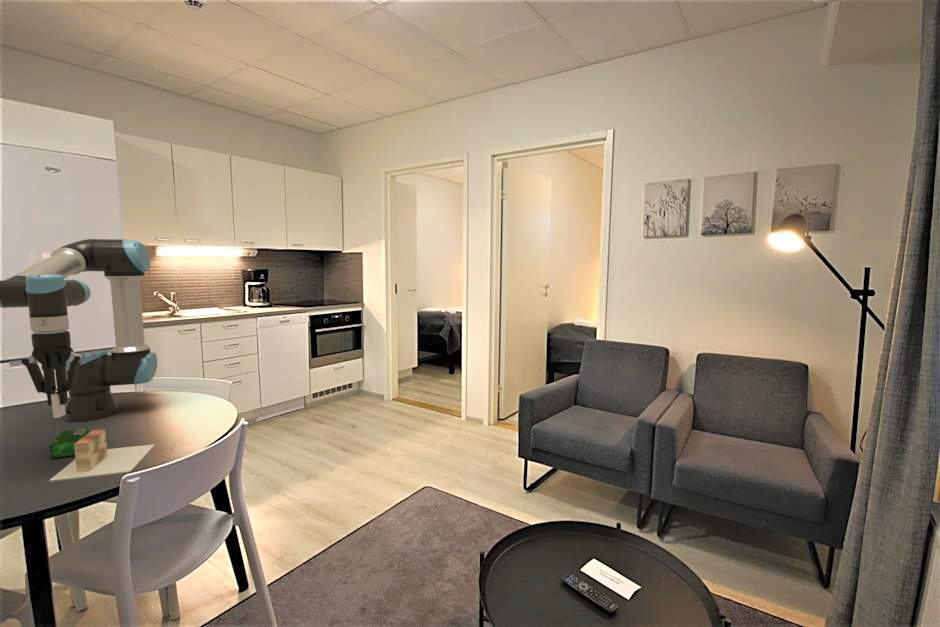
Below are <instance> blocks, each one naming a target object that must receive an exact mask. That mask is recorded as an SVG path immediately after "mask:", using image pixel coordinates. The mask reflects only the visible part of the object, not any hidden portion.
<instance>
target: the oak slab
mask: <svg viewBox="0 0 940 627" xmlns="http://www.w3.org/2000/svg"><path fill="white" fill-rule="evenodd" d="M107 444H108V443H107V435H106V429H105V428H103V429H93V430H91V431H89V433H88V434H87V435H85V436H84V437H83V438H81V439H80V440H79V441H77V442H76V443H75V444H74V450H75V455H74V457H75V458H74V460H75V459H76V468H77V472H82V471H90V470H91V469H93V468H94V467H95V466H96V465H97V464H98V463H99V462H100V461H101V460H103V459H104V458H105V457H106V456H107V455H108V453H107V449H108V445H107Z"/></svg>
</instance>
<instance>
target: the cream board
mask: <svg viewBox="0 0 940 627" xmlns="http://www.w3.org/2000/svg"><path fill="white" fill-rule="evenodd" d="M155 445H156V444H145V445H135V446H125V447H116V448H115V447H114V448H107V453H108V455H107V456H106V457H105V458H104V459H103V460H101V461H100V462H99V463H98V464H97V465H96V466H95V467H94V468H93V469H91V470H90V471H82V472H77V468H76V459H75V458H74V459H73V460H72V461H71V462H70V463H69V464H68V465H66V466H64V467H63V469H61V470H60V471H59V472H58V473H57V474H55V475H54V476H52V477H51V478H50V479H49V480H48V482H49V483H52V482H60V481H67V480H68V481H69V480H76V479H84V478H93V477H105V476H110V475H119V474H128V473H132V472H131V471H132V470H133V469H134V468H135V467H137V465H138V464H139V463H140V462H141V461H142V460H143V459H144V458H145V456H147V454H148V453H149V452H150V451H151V450H152V449H153V447H155Z"/></svg>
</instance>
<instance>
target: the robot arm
mask: <svg viewBox="0 0 940 627" xmlns="http://www.w3.org/2000/svg"><path fill="white" fill-rule="evenodd" d="M150 268H151V261H150V255H149V252H148V249H147V248H146V246H145V244H143V242H141V241H139V240H134V239H126V238H125V239H115V238H114V239H113V238H112V239H109V238H108V239H106V238H103V239H101V238H100V239H99V238H98V239H97V238H88V239H82V240H78V241H74V242H72V243H68V244H66V245H63V246H61V247H58V248H57V249H55V250H54V251H52V252H51V254H50V256H49V257H47V258H45V259H43V260H41V261H39V262H37V263H35V264H34V265H32V266H29V267H27V268H26V269H24V270H22V271H20V272H18V273H16V274H14V275H13V276H10V277H9V278H6V279H4V280H2V279H1V280H0V308H2V309H5V308H28V312H29V313H28V315H29V325H30V331H31V332H32V334H31V344H32V348H33V350H32V352H31V355H29V356H28V357H26V358H22V359H21V361H20V362H21V363H22V364H23V366H25V367H26V368H27V371H28V374H29V376H30V378H31V381H32V382H33V385H34V387H35V390H36V392H37V393H39V394H40V393H42V394H45V395H46V398H47V405H48V406H51V408H52V417H53V418H54V419H56V418H57V419H58V418H61V417H63V416H64V420H65V421H68V422H83V421H85V422H86V421H92V420H96V419H101V418H105V417H109V416H111V415H115V413H117V412H118V411H119V405H118V404H119V403H118V402H117V400H116V399H115V396H114V395H113V393H112V392H111V391H112V390H111V387H113V386H127V385H140V384H141V385H142V384H147V383H150V382H151V381H152V380H153V379H154V377H155V374H156V372H157V369H158V356H157V353H155V352H152V351H151V346H149V345H148V344H146V343H145V332H144V318H143V316H144V315H143V308H142V307H143V306H142V305H143V303H142V292H141V280H142V279H143V278H145V273H146V272H148V271H149V270H150ZM85 272H102V273H103V275H104V276H103V277H104V278H106V279H107V280H108V281H109V282H110V292H111V293H110V295H111V305H112V315H113V326H114V327H113V328H114V329H113V330H114V337H115V339H114V340H115V346H114V347H113V348H112V349H111V350H110V353H111V354H108V353H109V352H107V350H103V349H102V350H93V351H90V352H88V351H87V352H84V353H79V354H78V353H75V351H74V349H73V348H72V347H71V344H72V343H71V332H70V331H69V329H70V321H69V316H68V315H69V313H68V307H73V306H74V307H77V306H79V305H80V306H81V305H82V304H84V303H87V301H88V300H89V299H90V297H91V293H92V292H91V289H90V287H89V285H88V284H86V283H85V282H84V281H83V280H82V281H81V280H78V279H67V278H68V277H70V276H74V275H79V274H80V273H85ZM65 279H66V280H65ZM38 362H39V364H40V365H41V368H40V365H39V364H38ZM42 371H43V373H42ZM53 418H52V419H53Z"/></svg>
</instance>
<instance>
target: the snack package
mask: <svg viewBox="0 0 940 627" xmlns="http://www.w3.org/2000/svg"><path fill="white" fill-rule="evenodd" d="M88 433H90V431H89V429H87V428H77V429H69V430H64V431H62V432H60V433H59V434H58V435H57V436H56V437H55V438H54V439H53V440H52V441H51V443H50V445H49V451H50V455H51V456H52V457H54V458H62V457H63V458H64V457H69V456H75V450H74V444H75V443H76V442H77V441H79V440H80V439H81V438H83V437H84V436H85V435H87V434H88Z"/></svg>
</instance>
